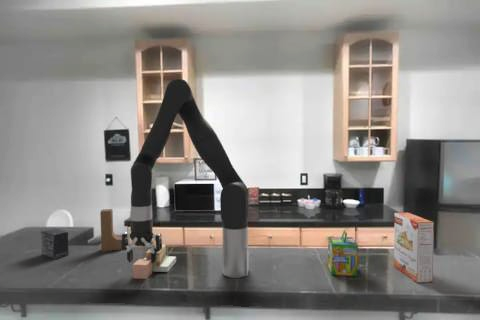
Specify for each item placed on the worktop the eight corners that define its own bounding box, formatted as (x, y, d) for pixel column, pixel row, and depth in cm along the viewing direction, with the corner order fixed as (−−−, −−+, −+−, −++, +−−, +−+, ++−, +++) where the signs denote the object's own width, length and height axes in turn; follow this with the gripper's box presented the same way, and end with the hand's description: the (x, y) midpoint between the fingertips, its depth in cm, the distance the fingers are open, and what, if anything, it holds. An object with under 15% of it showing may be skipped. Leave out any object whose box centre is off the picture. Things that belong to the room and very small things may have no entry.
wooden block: (124, 246, 139) (123, 208, 138) (123, 249, 134) (122, 210, 133) (103, 248, 136) (101, 209, 135) (101, 251, 132) (100, 211, 131)
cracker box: (392, 266, 114) (393, 212, 113) (408, 266, 114) (409, 211, 113) (415, 283, 100) (417, 221, 99) (433, 283, 100) (435, 221, 99)
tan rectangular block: (166, 256, 120) (165, 244, 120) (159, 265, 111) (159, 252, 111) (153, 256, 120) (153, 244, 120) (146, 265, 111) (146, 252, 111)
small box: (70, 255, 128) (69, 231, 128) (53, 260, 123) (52, 235, 122) (57, 250, 134) (56, 227, 134) (41, 255, 129) (40, 231, 128)
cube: (152, 272, 110) (152, 259, 110) (146, 279, 105) (146, 265, 105) (139, 272, 111) (138, 259, 110) (133, 278, 106) (132, 264, 105)
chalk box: (327, 265, 116) (327, 227, 115) (352, 266, 114) (352, 228, 114) (331, 275, 107) (331, 234, 106) (358, 277, 105) (358, 235, 105)
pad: (176, 261, 120) (176, 256, 120) (167, 272, 110) (167, 267, 110) (147, 260, 122) (147, 255, 122) (135, 271, 111) (135, 265, 111)
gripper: (164, 215, 110) (164, 259, 111) (127, 214, 112) (128, 257, 113) (156, 221, 103) (156, 267, 104) (117, 219, 104) (117, 265, 105)
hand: (141, 261), depth 108 cm, fingers open, 8 cm apart
